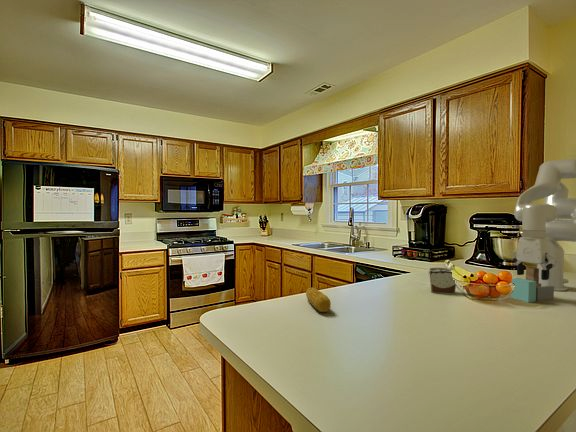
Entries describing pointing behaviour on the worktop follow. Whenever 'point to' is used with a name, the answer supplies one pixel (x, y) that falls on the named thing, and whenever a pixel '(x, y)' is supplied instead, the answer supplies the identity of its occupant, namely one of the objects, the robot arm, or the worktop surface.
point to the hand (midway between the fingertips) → (532, 277)
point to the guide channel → (544, 292)
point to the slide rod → (533, 275)
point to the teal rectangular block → (524, 290)
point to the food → (318, 300)
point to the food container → (442, 281)
